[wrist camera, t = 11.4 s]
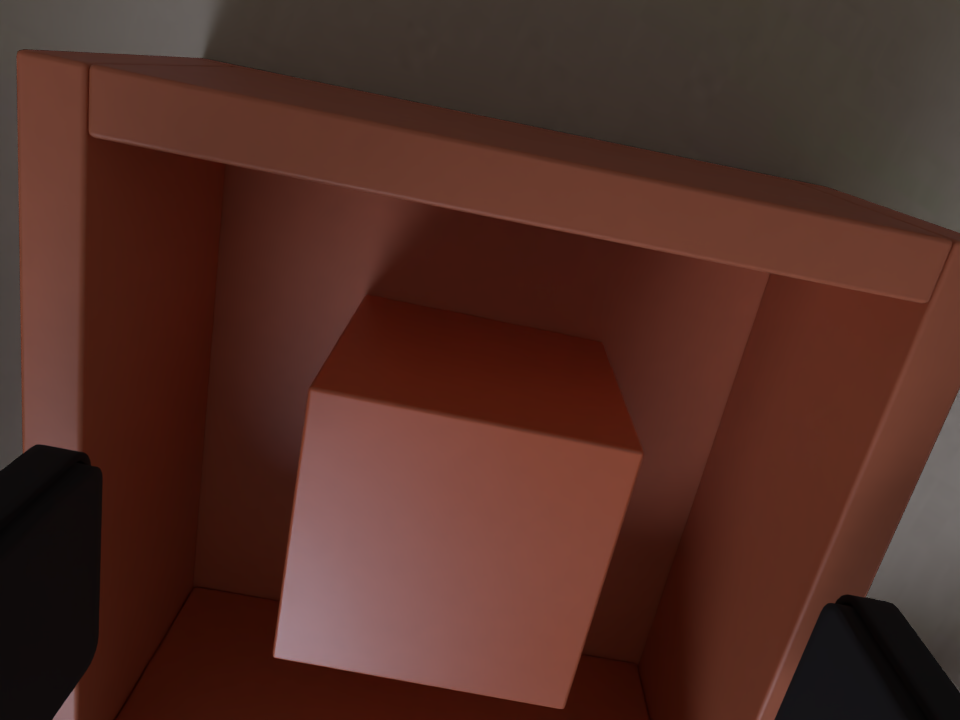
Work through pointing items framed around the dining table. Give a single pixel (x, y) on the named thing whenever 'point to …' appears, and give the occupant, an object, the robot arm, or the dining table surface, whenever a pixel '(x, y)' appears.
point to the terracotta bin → (472, 291)
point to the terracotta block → (455, 503)
